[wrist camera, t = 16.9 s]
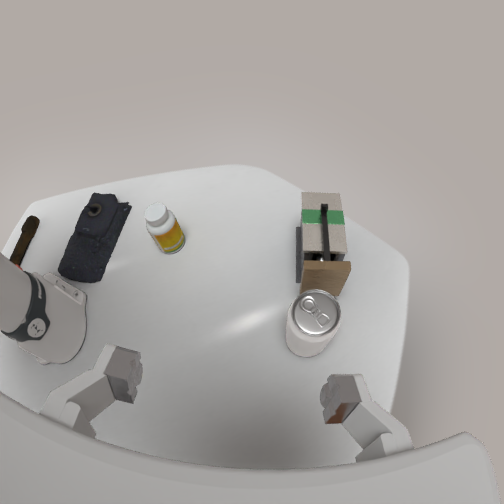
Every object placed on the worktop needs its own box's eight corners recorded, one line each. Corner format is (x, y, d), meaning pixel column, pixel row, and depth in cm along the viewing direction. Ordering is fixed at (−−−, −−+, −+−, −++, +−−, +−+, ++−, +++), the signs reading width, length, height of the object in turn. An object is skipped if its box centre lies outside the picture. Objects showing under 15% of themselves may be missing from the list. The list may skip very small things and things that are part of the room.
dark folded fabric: (55, 278, 50) (43, 269, 46) (90, 203, 61) (81, 191, 57) (102, 287, 48) (89, 277, 44) (136, 201, 59) (128, 187, 55)
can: (307, 309, 42) (316, 275, 32) (335, 338, 39) (355, 312, 29) (276, 335, 40) (275, 310, 30) (304, 366, 37) (314, 352, 27)
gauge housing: (337, 283, 44) (351, 251, 35) (295, 282, 45) (299, 250, 36) (333, 231, 49) (342, 193, 40) (296, 230, 50) (298, 191, 41)
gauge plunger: (338, 295, 40) (353, 265, 32) (299, 295, 41) (304, 264, 32) (334, 242, 45) (345, 204, 37) (299, 241, 46) (303, 203, 37)
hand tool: (16, 280, 51) (5, 272, 47) (10, 278, 52) (-1, 270, 48) (45, 221, 60) (36, 212, 56) (38, 221, 61) (29, 211, 57)
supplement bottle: (154, 248, 51) (134, 218, 43) (170, 227, 53) (153, 195, 45) (175, 259, 49) (155, 228, 41) (191, 237, 51) (175, 204, 43)
